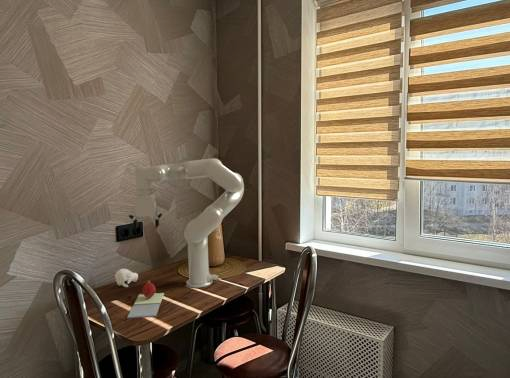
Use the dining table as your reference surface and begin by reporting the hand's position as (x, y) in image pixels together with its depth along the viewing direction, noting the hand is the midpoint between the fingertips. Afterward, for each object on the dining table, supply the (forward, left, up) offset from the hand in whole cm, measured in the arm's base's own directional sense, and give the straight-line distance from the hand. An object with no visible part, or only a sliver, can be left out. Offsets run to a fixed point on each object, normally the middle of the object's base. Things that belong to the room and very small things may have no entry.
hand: (146, 227), depth 188 cm
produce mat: (-3, +19, -28) cm, 34 cm away
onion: (-3, +19, -28) cm, 34 cm away
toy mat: (-3, +32, -28) cm, 42 cm away
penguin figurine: (+11, -3, -29) cm, 31 cm away
